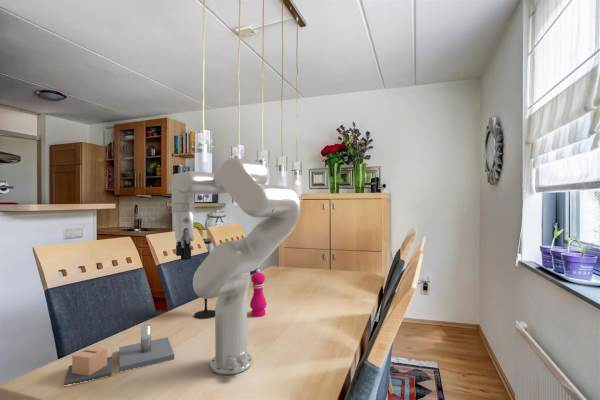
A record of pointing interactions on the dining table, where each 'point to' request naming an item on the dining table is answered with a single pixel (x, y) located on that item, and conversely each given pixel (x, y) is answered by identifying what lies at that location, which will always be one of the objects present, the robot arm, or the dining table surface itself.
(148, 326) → the post
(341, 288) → the dining table surface
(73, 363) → the tan slotted box
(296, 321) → the dining table surface
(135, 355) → the stand
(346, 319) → the dining table surface
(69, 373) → the pad
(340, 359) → the dining table surface
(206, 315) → the wine glass
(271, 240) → the robot arm
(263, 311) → the pepper mill
